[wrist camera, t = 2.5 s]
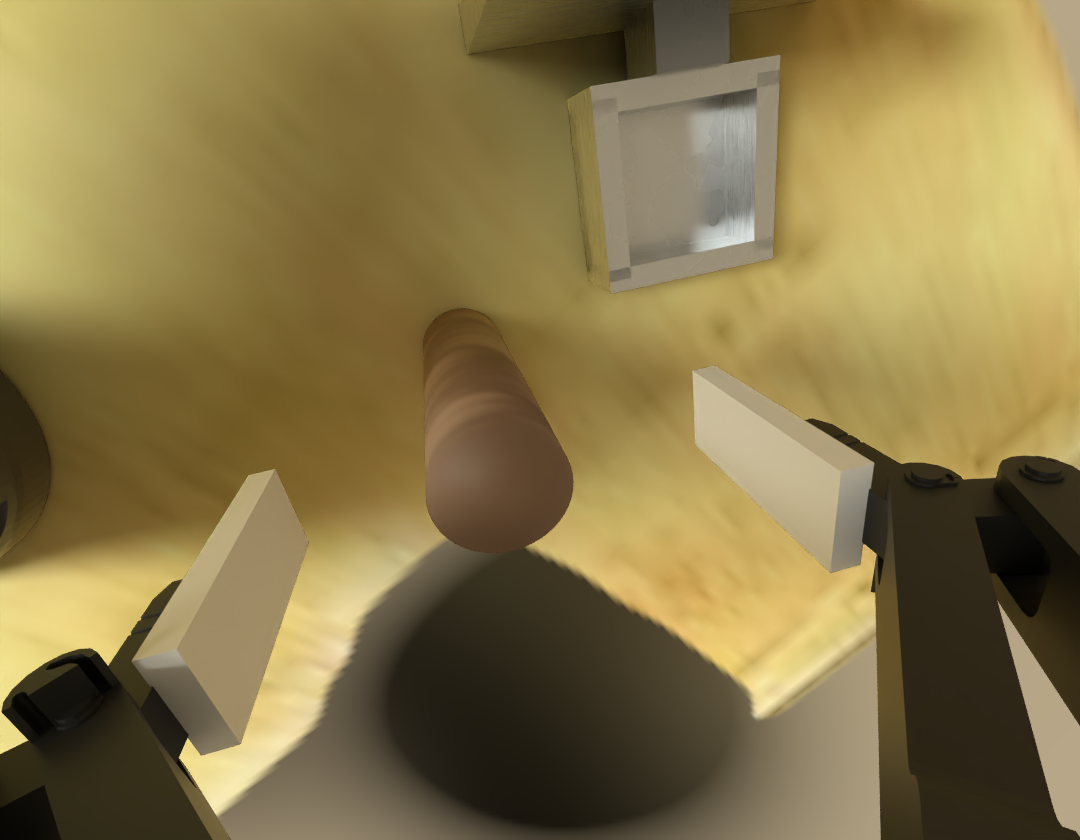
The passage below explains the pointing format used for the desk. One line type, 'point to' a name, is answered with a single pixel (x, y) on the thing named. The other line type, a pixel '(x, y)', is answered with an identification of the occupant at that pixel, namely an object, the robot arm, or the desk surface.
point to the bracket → (660, 133)
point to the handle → (487, 441)
